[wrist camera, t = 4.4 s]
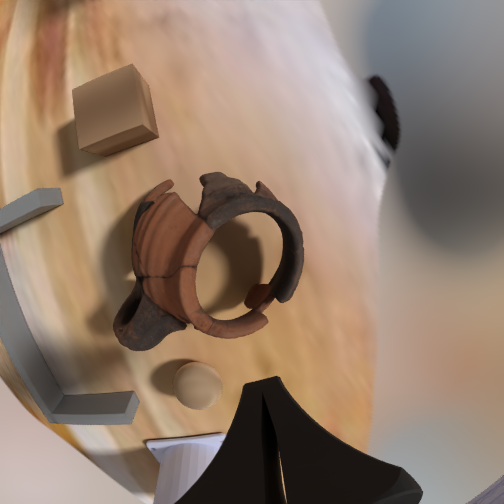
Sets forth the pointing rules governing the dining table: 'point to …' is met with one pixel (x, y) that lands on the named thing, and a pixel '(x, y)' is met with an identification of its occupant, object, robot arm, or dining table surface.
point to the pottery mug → (187, 258)
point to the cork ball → (197, 385)
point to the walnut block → (114, 112)
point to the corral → (27, 353)
